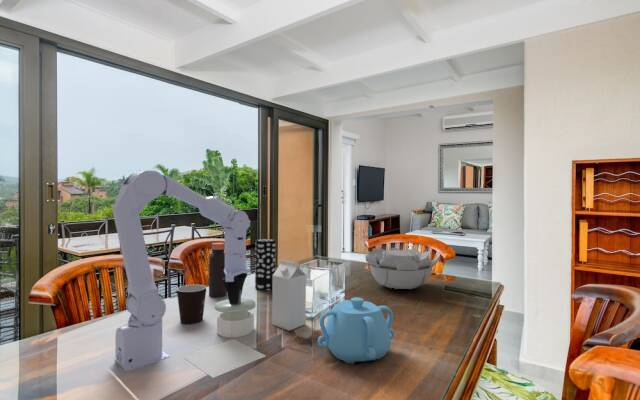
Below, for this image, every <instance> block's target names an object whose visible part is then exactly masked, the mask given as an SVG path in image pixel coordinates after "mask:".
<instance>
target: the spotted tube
mask: <svg viewBox="0 0 640 400" xmlns="http://www.w3.org/2000/svg"><path fill="white" fill-rule="evenodd" d="M276 241H277V240H276V239H274V238H273V239H271V238H260V239H259V238H258V239H255V251H254V252H255V255H254V256H255V258H254V259H255V261H254V263H255V266H254V267H255V269H254V272H255V273H254V282H255V283H254V289H255V290H257V291H259V290H260V291H261V292H265V291H266V290H269V291H272V286H273V274H274V272H275V271H276V269H277V268H276V266H277V263H276V260H277V259H276V258H277V257H276V255H277V254H276V253H277V251H276V247H277V244H276V243H277V242H276ZM266 292H267V291H266Z"/></svg>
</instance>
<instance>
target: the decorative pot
mask: <svg viewBox="0 0 640 400" xmlns="http://www.w3.org/2000/svg"><path fill="white" fill-rule="evenodd" d="M383 311H387V319H386V318H385V315H384V313H383ZM326 318H327V321H326V324H325V319H326ZM393 319H394V312H393V310H392V309H391V308H390V307H389V306H386V305H378V306H377V305H376V304H374V303H373V302H370V301H366V300H365V299H364V298H363V297H352V298H350V299H345V300H343V301H342V302H339V303H335V304H334V306H333V308H332V309H327V310H326V311H324V312H322V313H321V315H320V317H319V327H320V330H321V333H322V334H323V335H319V336H318V339H317V344H318V346H319V347H321V348H328V350H329V351H330V352H331V353H332V354H333V356H335V357H336V358H337V359H338V360H341V361H343V362H344V363H345V362H346V364H348V363H352V364H354V363H356V362H368V361H377V360H376V359H379V358H380V359H381V358H383V357H384V356H385V355H386V354H387V353H388V352H389V350H390V349H391V346H392V339H394V337H395V331H394V330H393V329H392V328H391V326H392V324H393ZM323 339H324V341H322V340H323ZM380 359H379V360H380ZM353 362H354V363H353Z"/></svg>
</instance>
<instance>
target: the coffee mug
mask: <svg viewBox="0 0 640 400" xmlns="http://www.w3.org/2000/svg"><path fill="white" fill-rule="evenodd" d="M176 293H177V294H176V295H177V304H178V312H179V320H180V323H181V324H183V325H195V324H199V323H200V322H202V321H203V320H204V313H205V312H204V311H205V303H206V294H207V286H206V285H204V284H186V285H181V286H179V287H177V288H176Z"/></svg>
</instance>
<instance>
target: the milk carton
mask: <svg viewBox="0 0 640 400" xmlns="http://www.w3.org/2000/svg"><path fill="white" fill-rule="evenodd" d="M306 276H307V274H306V273H305V272H304V271H303V270H302V269H301V268H300V267H299V262H293V261H288V260H287V261H286V260H284V259H283V260H282V259H281V260H280V264H279V266H278V267H277V268H276V269H275V272H274V274H273V286H272V290H271V291H272V293H271V294H272V303H271V305H272V307H271V309H272V313H271V317H272V319H271V320H272V323H271V324H272V326H274V327H275V328H276V327H277V328H280V329H283V330H286V331H289V332H290V331H292V330H294V329H297V328H300V327H301V326H303V325H306V316H307V315H306V313H307V312H306V310H307V309H306V307H307V305H306V300H307V299H306V298H307V297H306V296H307V291H306V290H307V285H306V284H307V277H306Z"/></svg>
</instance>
